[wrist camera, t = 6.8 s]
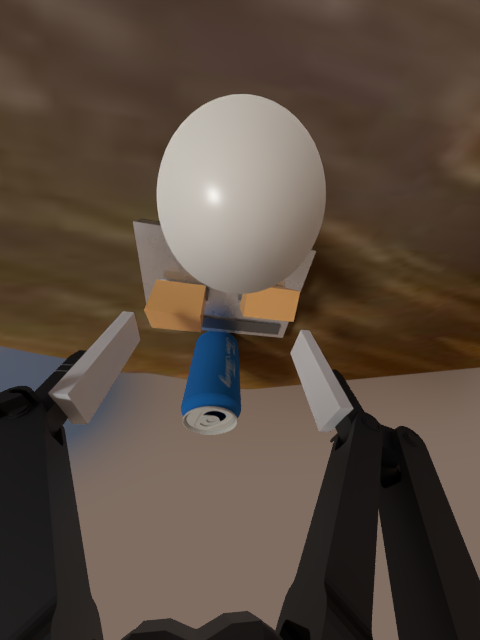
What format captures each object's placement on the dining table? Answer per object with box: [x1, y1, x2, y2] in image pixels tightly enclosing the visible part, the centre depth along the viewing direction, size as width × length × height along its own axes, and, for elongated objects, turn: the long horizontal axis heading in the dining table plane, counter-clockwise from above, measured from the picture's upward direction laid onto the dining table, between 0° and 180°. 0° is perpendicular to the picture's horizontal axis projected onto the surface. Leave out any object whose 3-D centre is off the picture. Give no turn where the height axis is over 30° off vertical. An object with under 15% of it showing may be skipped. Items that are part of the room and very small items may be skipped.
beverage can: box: [181, 331, 241, 435], centre depth 23 cm, size 6×6×12 cm
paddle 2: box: [238, 286, 300, 322], centre depth 19 cm, size 3×6×5 cm, turn 81°
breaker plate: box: [133, 219, 316, 338], centre depth 22 cm, size 12×18×2 cm, turn 81°
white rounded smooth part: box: [157, 94, 326, 294], centre depth 11 cm, size 5×5×16 cm
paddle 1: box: [144, 279, 209, 332], centre depth 19 cm, size 3×6×5 cm, turn 81°
